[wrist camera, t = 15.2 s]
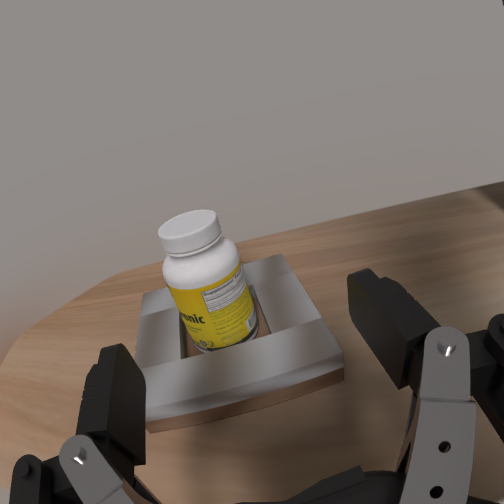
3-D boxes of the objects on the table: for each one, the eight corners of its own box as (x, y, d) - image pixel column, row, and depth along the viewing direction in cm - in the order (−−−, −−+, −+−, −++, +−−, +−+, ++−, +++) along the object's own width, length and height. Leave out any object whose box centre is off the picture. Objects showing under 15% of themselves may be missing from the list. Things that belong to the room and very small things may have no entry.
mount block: (286, 278, 32) (281, 253, 31) (343, 380, 20) (343, 351, 19) (154, 317, 31) (143, 293, 30) (150, 433, 19) (130, 410, 17)
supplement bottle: (184, 332, 26) (139, 228, 21) (238, 303, 28) (207, 198, 23) (211, 370, 22) (160, 252, 17) (273, 333, 24) (243, 214, 19)
